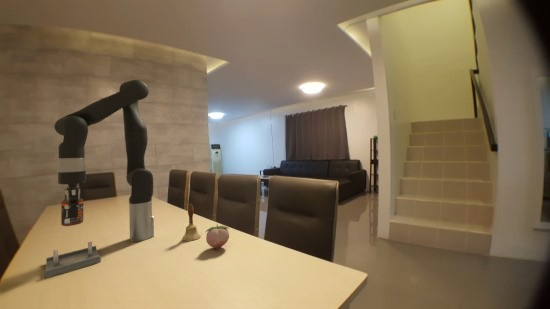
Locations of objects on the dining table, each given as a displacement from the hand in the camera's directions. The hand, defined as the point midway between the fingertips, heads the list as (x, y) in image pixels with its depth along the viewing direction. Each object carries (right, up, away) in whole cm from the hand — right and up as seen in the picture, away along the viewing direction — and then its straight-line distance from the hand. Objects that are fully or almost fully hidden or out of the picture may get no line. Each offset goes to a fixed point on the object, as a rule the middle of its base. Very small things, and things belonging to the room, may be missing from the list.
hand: (73, 215), depth 79 cm
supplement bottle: (0, -3, 0) cm, 3 cm away
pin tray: (+1, -17, 0) cm, 17 cm away
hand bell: (+36, -17, +22) cm, 45 cm away
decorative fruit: (+51, -16, +9) cm, 55 cm away
